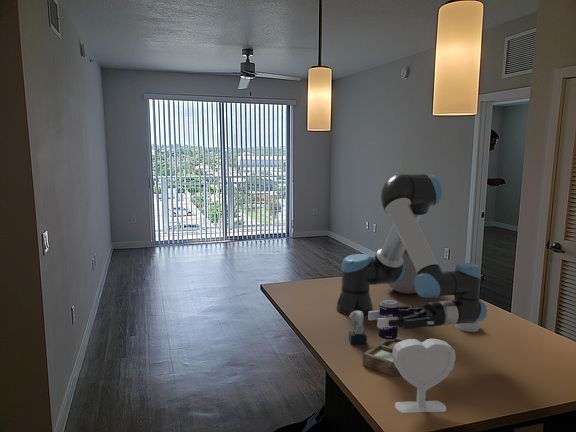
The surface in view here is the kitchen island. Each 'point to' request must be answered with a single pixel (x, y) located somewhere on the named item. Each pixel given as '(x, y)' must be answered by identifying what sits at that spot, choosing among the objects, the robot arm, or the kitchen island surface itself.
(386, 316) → the beverage can
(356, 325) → the watch
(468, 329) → the wall hook
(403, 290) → the plant pot
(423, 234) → the robot arm
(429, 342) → the heart sculpture
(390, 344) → the brown divided tray
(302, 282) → the kitchen island surface
